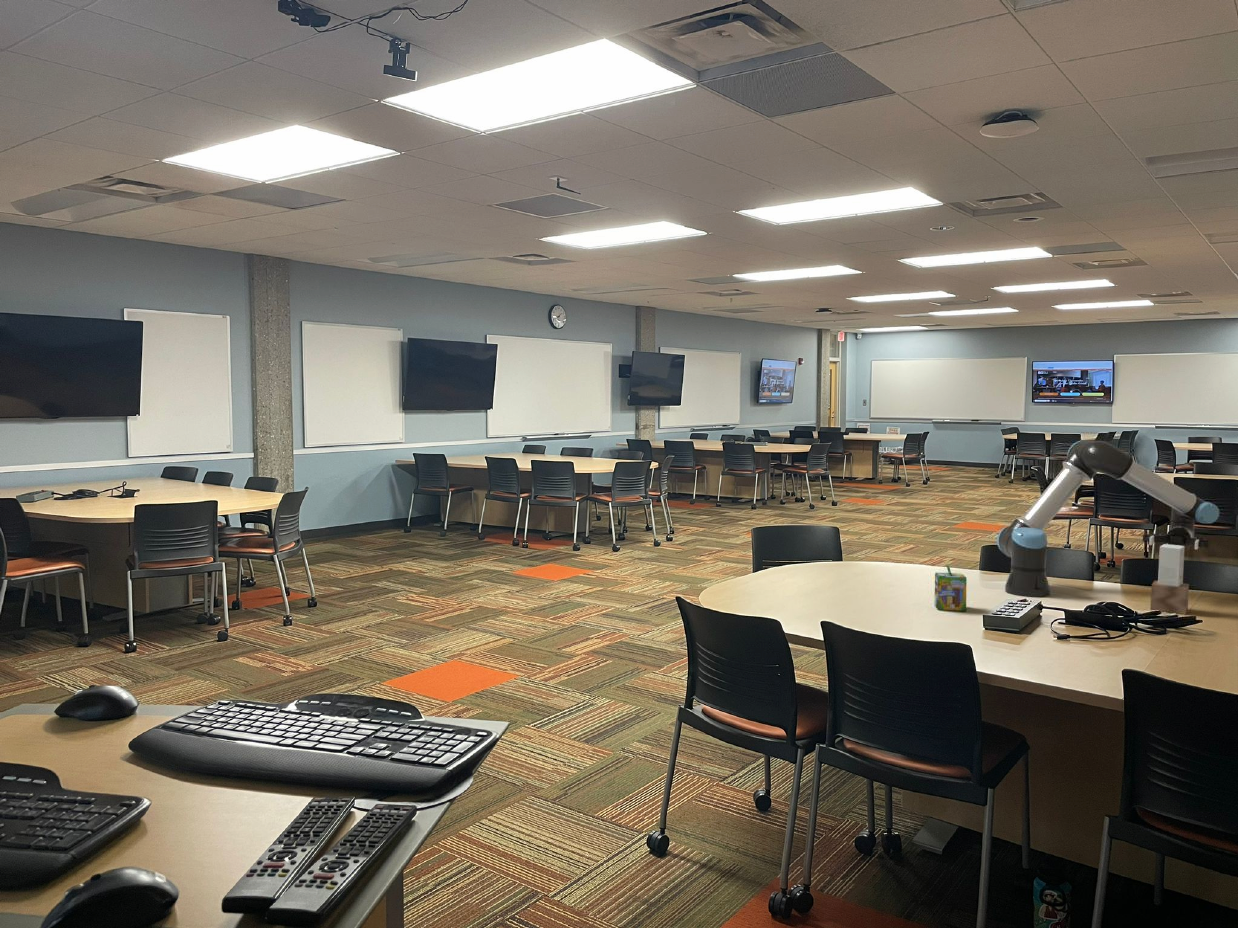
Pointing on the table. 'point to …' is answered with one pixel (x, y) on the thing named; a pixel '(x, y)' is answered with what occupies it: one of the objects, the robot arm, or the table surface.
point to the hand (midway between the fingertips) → (1173, 543)
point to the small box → (1171, 565)
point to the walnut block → (1169, 598)
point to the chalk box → (950, 591)
